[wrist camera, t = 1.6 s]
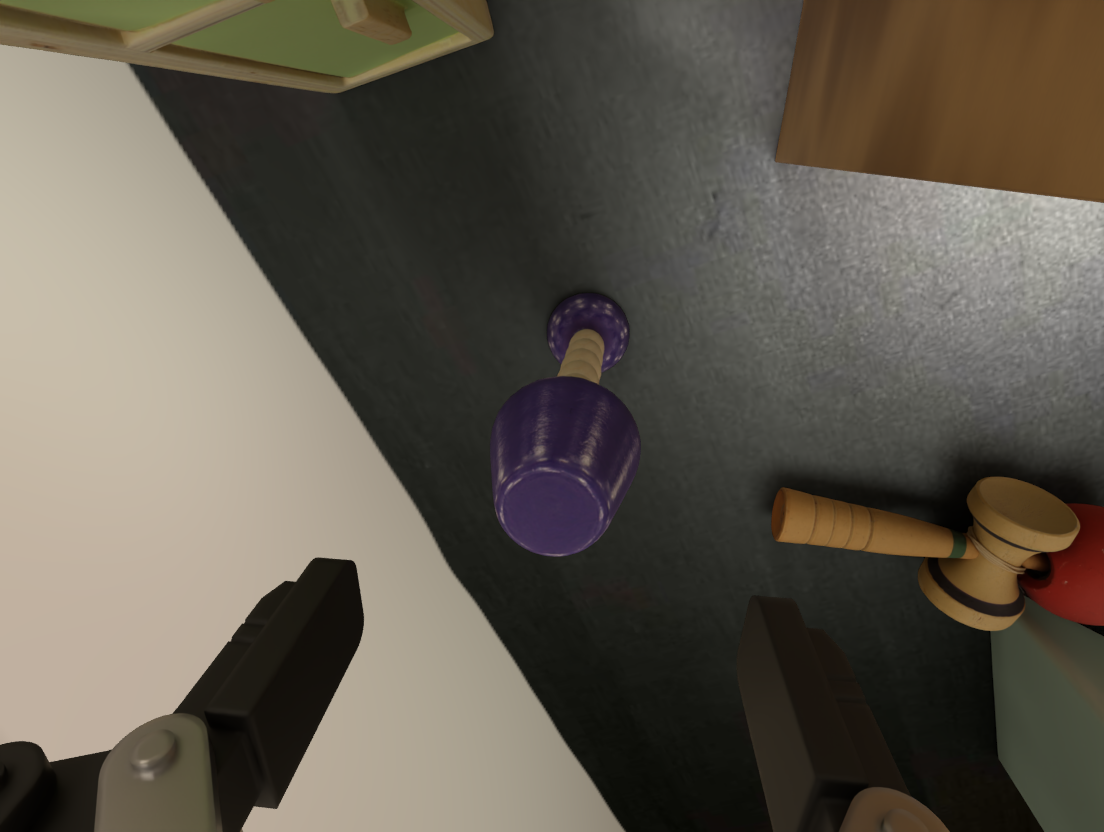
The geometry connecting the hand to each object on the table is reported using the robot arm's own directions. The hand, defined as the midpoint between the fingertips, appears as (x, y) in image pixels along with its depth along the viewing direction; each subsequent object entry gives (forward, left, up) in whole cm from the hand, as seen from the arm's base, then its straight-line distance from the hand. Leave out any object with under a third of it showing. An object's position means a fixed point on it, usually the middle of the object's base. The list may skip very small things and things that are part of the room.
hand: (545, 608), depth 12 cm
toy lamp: (0, 0, -20) cm, 20 cm away
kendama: (+10, +20, -20) cm, 30 cm away
